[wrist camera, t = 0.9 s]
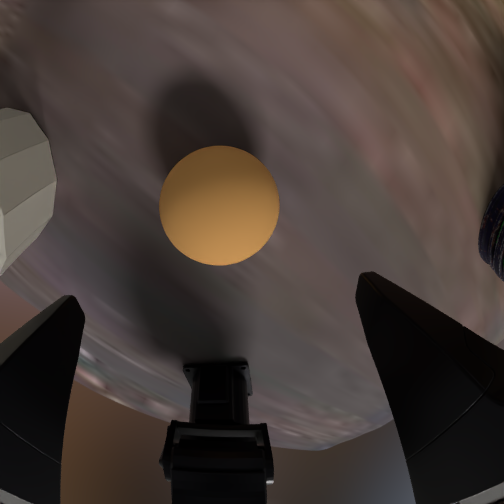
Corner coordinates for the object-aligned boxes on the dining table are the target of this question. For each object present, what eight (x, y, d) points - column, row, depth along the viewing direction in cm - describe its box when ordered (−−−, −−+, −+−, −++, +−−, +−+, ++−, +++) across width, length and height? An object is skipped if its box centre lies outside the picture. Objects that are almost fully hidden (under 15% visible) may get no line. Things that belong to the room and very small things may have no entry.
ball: (273, 227, 18) (289, 284, 13) (182, 235, 18) (162, 294, 12) (269, 134, 15) (287, 152, 9) (165, 145, 14) (129, 171, 9)
